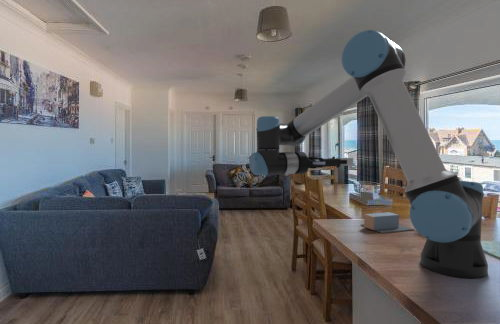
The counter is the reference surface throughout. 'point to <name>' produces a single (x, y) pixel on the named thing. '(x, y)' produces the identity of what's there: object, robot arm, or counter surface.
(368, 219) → the slate block
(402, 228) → the mat
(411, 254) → the counter surface
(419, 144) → the robot arm
